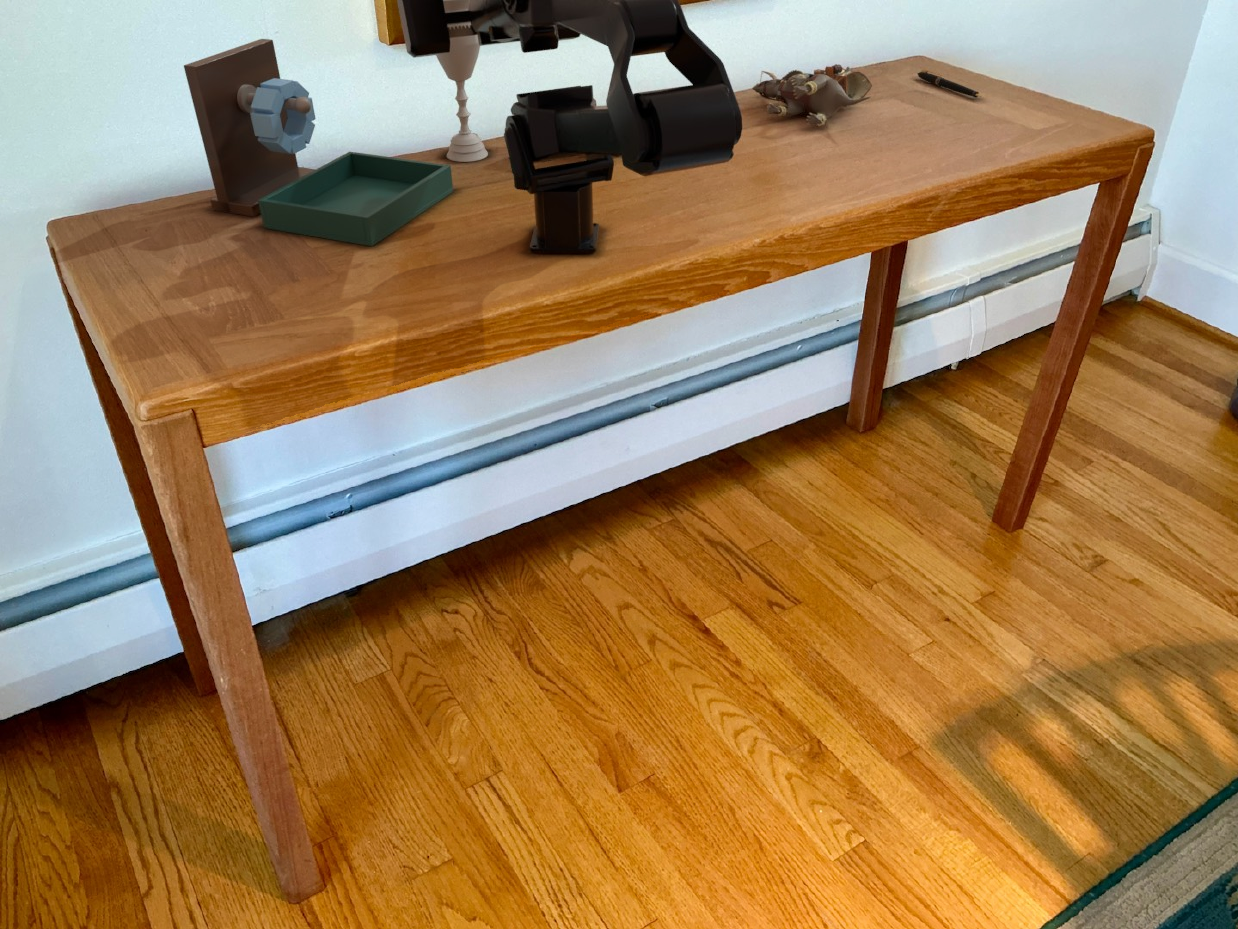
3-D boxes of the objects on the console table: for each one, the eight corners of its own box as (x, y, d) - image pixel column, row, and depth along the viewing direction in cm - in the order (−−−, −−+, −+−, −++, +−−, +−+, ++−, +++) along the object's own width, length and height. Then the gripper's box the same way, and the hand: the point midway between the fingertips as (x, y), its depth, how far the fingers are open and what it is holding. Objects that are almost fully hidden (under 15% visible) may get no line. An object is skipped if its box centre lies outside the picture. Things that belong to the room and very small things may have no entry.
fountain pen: (987, 101, 137) (989, 90, 136) (980, 102, 137) (983, 91, 136) (919, 77, 148) (921, 66, 147) (913, 78, 147) (915, 67, 146)
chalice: (441, 145, 123) (423, -12, 113) (496, 144, 124) (483, -14, 113) (437, 165, 118) (417, 1, 107) (494, 163, 118) (480, -1, 107)
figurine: (723, 69, 132) (792, 46, 142) (723, 116, 135) (790, 90, 146) (857, 85, 120) (921, 59, 131) (853, 136, 124) (916, 107, 134)
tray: (453, 191, 111) (450, 164, 109) (372, 246, 98) (367, 217, 97) (353, 176, 115) (349, 151, 113) (263, 227, 102) (257, 200, 101)
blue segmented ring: (320, 141, 108) (307, 74, 104) (279, 161, 103) (265, 91, 99) (301, 138, 109) (288, 72, 105) (260, 158, 104) (244, 89, 99)
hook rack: (359, 185, 112) (336, 45, 104) (293, 223, 103) (262, 73, 95) (282, 174, 116) (253, 37, 107) (212, 210, 107) (175, 64, 98)
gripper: (592, -97, 95) (538, -63, 109) (402, -84, 89) (370, -50, 103) (607, 28, 99) (554, 45, 113) (427, 49, 93) (393, 64, 107)
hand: (470, 25), depth 109 cm, fingers open, 9 cm apart
